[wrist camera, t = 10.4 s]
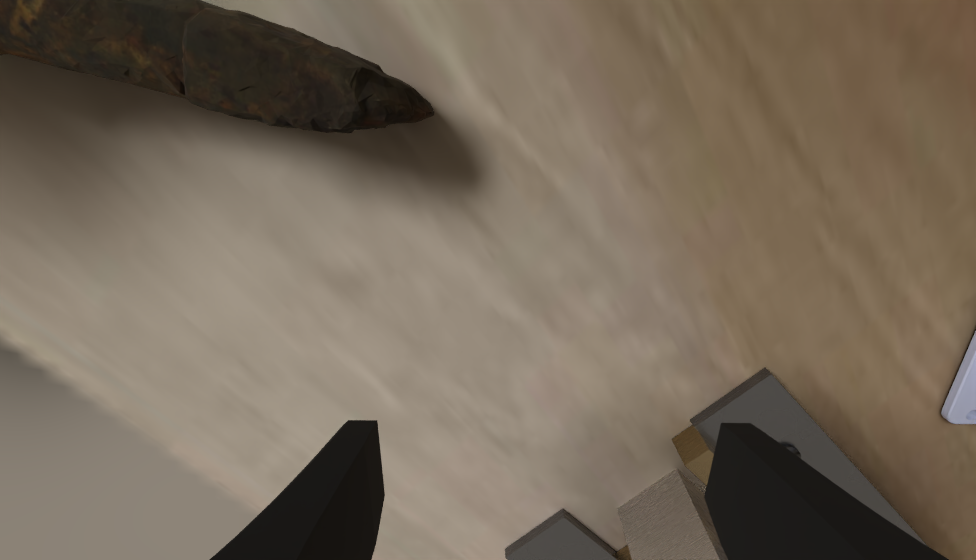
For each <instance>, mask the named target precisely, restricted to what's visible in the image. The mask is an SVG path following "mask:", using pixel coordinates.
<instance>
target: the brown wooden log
mask: <svg viewBox="0 0 976 560" xmlns="http://www.w3.org/2000/svg"><path fill="white" fill-rule="evenodd" d="M2 54H12V55H16V56H20V57H25V58H29V59H32V60H35V61H39V62H42V63H46V64H49V65H53V66H57V67H61V68H64V69H68V70H73V71H78V72H83V73H89V74H92V75H96V76H100V77H104V78H109V79H113V80H118V81H122V82H126V83H131V84H134V85H138V86H142V87H145V88H149V89H153V90H156V91H160V92H164V93H167V94H171V95H175V96H179V97H183V98H187V99H189V101H190V102H191V103H193V104H195V105H198V106H200V107H203V108H205V109H208V110H213V111H218V112H222V113H225V114H227V115H230V116H234V117H238V118H243V119H250V120H257V121H260V122H263V123H266V124H268V125H270V126H280V127H291V128H300V129H303V130H313V131H320V132H326V133H329V132H341V133H351V132H352V131H354V130H360V129H370V128H375V129H376V128H385V127H386V126H388V125H390V124H396V123H412V122H418V121H421V120H423V119H425V118H428V117H430V116H433V115H434V111H433V108H432V106H431V104H430V103H429V102H428V101H427V100H426V99H425V98H423V97H422V96H421V95H420V94H419V93H418V92H417V91H416V90H415V89H414V88H413V87H411V86H410V85H408V84H406V83H405V82H403V81H401V80H399V79H396V78H394V77H391V76H389V75H387V74H385V73H384V72H383V71H382V69H381V68H380V66H379V65H377V64H375V63H372V62H370V61H368V60H365V59H363V58H360V57H358V56H355V55H353V54H351V53H349V52H347V51H345V50H343V49H340V48H338V47H332V46H330V45H327V44H324V43H323V42H321V41H319V40H317V39H315V38H313V37H310V36H307V35H305V34H303V33H301V32H299V31H297V30H295V29H293V28H288V27H284V26H281V25H278V24H275V23H272V22H269V21H266V20H263V19H261V18H259V17H256V16H254V15H251V14H248V13H245V12H241V11H233V10H226V9H224V8H221V7H218V6H215V5H212V4H209V3H206V2H204V1H201V0H0V55H2Z"/></svg>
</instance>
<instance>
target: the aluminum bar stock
mask: <svg viewBox="0 0 976 560" xmlns="http://www.w3.org/2000/svg"><path fill="white" fill-rule="evenodd" d="M704 496H705V494H704V493H703V492H702V491H700V490H699V489H698V488H697V487H696V486H695V485H694V484H693V483H692V482H691V481H689V480H688V479H687V478H686V477H685V476H684V475H683V474H682V473H681V472H680V471H678V470H677V469H675V470H673V471H672V472H671V473H669V474H668V475H666V476H665V477H663V478H662V479H660V480H659V481H657V482H656V483H654V484H653V485H651V486H650V487H648V488H647V489H645V490H644V491H642V492H641V493H640V494H638V495H637V496H635V497H634V498H632V499H631V500H629V501H628V502H626V503H625V504H623V505H622V506H620V507H619V508H617V510H618V514H619V517H620V521H621V524H622V527H623V531H624V534H625V538H626V541H627V544H628V548H629V551H630V555H631V558H632V560H728V558H727V556H726V554H725V552H724V550H723V548H722V546H721V543H720V540H719V538H718V535H717V532H716V530H715V527H714V524H713V521H712V519H711V516H710V513H709V510H708V507H707V504H706V501H705V498H704Z"/></svg>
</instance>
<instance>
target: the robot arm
mask: <svg viewBox="0 0 976 560" xmlns="http://www.w3.org/2000/svg"><path fill="white" fill-rule="evenodd" d="M941 414H942V417H944V418H945V419H946V420H948V421H949V422H950V423H953V424H976V331H975V334H974V336H973V338H972V340H971V343H970V345H969V347H968V350H967V352H966V354H965V357H964V359H963V361H962V364H961V366H960V368H959V371H958V373H957V375H956V378H955V380H954V382H953V385H952V387H951V389H950V392H949V394H948V396H947V399H946V401H945V403H944V406H943V408H942V412H941ZM384 496H385V494H384V484H383V474H382V464H381V454H380V444H379V434H378V424H377V421H365V420H348V421H347V422H346V423H345V424H344V425H343V426H342V427H341V428H340V429H339V430H338V431H337V433H336V434H335V435H334V436H333V437H332V438H331V439H330V440H329V442H328V443H327V444H326V445H325V446H324V447H323V448H322V449H321V451H320V452H319V453H318V454H317V455H316V456H315V457H314V458H313V459H312V460H311V462H310V463H309V464H308V465H307V466H306V467H305V468H304V469H303V470H302V471H301V472H300V473H299V474H298V475H297V477H296V478H295V479H294V480H293V481H292V482H291V483H290V484H289V485H288V486H287V487H286V488H285V489H284V490H283V491H282V492H281V493H280V494H279V495H278V496H277V497H276V498H275V499H274V500H273V501H272V502H271V503H270V504H269V505H268V506H267V507H266V508H265V509H264V510H263V511H262V512H261V513H260V514H259V515H258V516H257V517H256V518H255V519H254V520H253V521H252V522H251V523H250V524H249V525H248V526H246V527H245V528H244V529H243V530H242V531H241V532H240V533H239V534H238V535H237V536H236V537H235V538H234V539H233V540H231V541H230V542H229V543H228V544H227V545H226V546H225V547H224V548H222V549H221V550H220V551H219V552H218V553H217V554H216V555H215V556H213V557H212V558H211V559H210V560H371V559H372V555H373V552H374V548H375V545H376V540H377V535H378V530H379V524H380V519H381V513H382V507H383V502H384ZM704 498H705V501H706V504H707V507H708V510H709V513H710V516H711V519H712V521H713V524H714V527H715V530H716V532H717V535H718V538H719V540H720V543H721V546H722V548H723V550H724V552H725V554H726V556H727V558H728V560H948V559H947V558H945V557H944V556H942V555H940V554H939V553H937V552H936V551H934V550H932V549H931V548H929V547H928V546H926V545H924V544H923V543H921V542H920V541H918V540H917V539H915V538H914V537H912V536H911V535H909V534H908V533H906V532H905V531H903V530H902V529H900V528H899V527H897V526H896V525H894V524H893V523H891V522H889V521H888V520H886V519H885V518H883V517H882V516H881V515H879V514H878V513H876V512H875V511H873V510H872V509H870V508H869V507H867V506H866V505H865V504H863V503H862V502H860V501H859V500H857V499H856V498H855V497H853V496H852V495H850V494H849V493H847V492H846V491H845V490H843V489H842V488H840V487H839V486H838V485H836V484H835V483H833V482H832V481H831V480H829V479H828V478H827V477H825V476H824V475H822V474H821V473H820V472H818V471H817V470H816V469H814V468H813V467H811V466H810V465H809V464H807V463H806V462H805V461H803V460H802V459H801V458H799V457H798V456H796V455H795V454H794V453H792V452H791V451H790V450H788V449H787V448H785V447H784V446H783V445H781V444H780V443H779V442H777V441H776V440H774V439H773V438H772V437H770V436H769V435H767V434H766V433H765V432H763V431H762V430H760V429H759V428H757V427H756V426H754V425H753V424H751V423H721V425H720V430H719V434H718V438H717V443H716V447H715V452H714V456H713V461H712V465H711V469H710V474H709V478H708V483H707V487H706V492H705V496H704Z"/></svg>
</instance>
